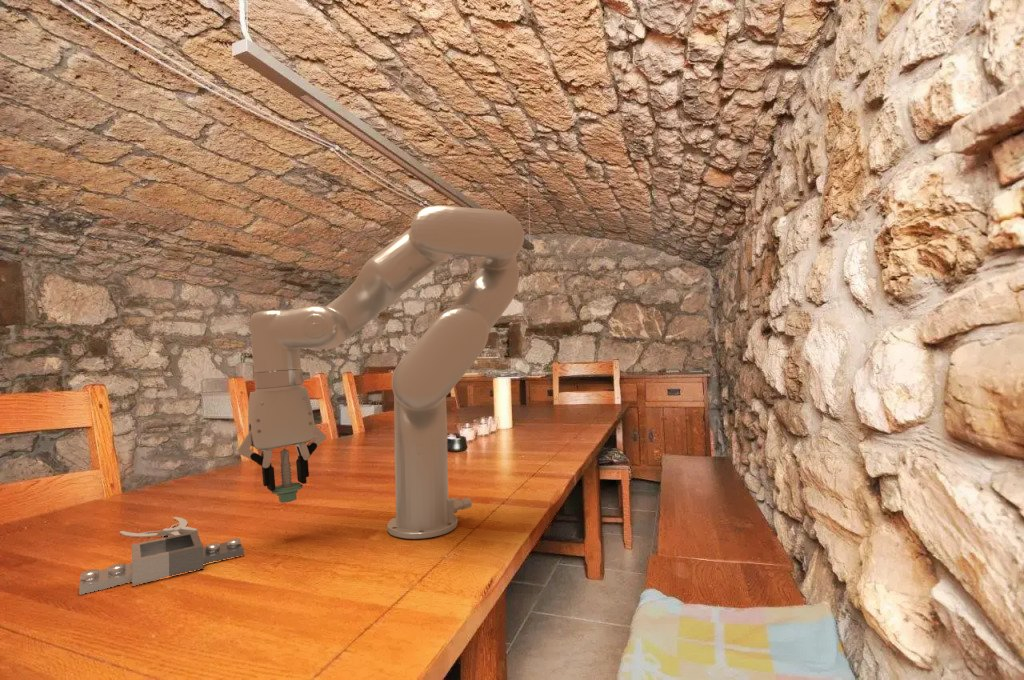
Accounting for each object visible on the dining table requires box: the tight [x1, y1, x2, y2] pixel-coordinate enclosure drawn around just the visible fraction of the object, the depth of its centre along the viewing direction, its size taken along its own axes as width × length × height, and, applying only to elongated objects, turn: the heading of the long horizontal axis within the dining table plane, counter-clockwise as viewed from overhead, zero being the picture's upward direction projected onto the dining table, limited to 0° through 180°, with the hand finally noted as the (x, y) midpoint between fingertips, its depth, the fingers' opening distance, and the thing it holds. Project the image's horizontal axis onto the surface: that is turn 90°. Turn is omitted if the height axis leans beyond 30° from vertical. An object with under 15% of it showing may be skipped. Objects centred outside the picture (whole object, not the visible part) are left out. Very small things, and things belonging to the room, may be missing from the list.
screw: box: [270, 448, 304, 504], centre depth 87 cm, size 9×5×5 cm
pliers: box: [119, 516, 199, 537], centre depth 92 cm, size 10×2×15 cm
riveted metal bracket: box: [78, 531, 245, 596], centre depth 76 cm, size 20×8×4 cm, turn 128°
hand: (286, 484), depth 87 cm, fingers closed on screw, 4 cm apart
